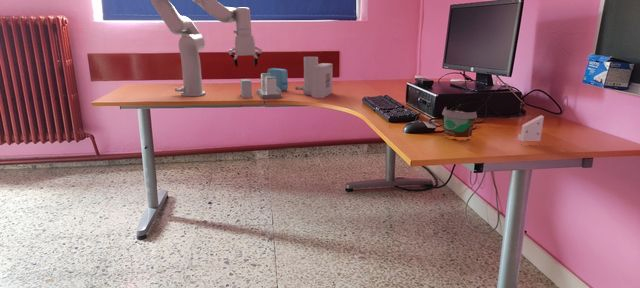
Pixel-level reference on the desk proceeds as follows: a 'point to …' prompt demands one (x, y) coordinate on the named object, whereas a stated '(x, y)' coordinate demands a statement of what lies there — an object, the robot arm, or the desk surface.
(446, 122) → the food container
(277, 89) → the rail
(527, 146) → the desk surface
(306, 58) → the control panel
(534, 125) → the white angled block
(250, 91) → the block
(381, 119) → the desk surface
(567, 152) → the desk surface
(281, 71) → the data package
